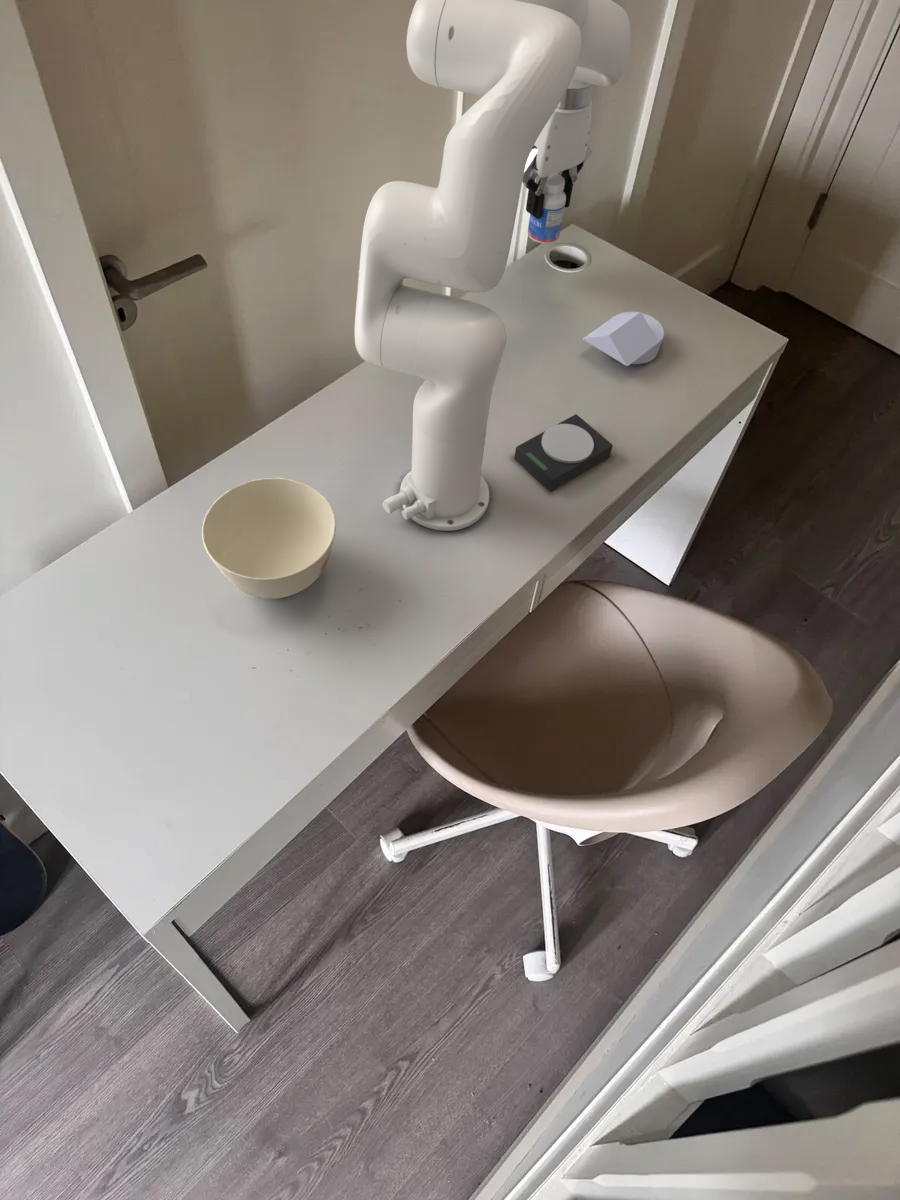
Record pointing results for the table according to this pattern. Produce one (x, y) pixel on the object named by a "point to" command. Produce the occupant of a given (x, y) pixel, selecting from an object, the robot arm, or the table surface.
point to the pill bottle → (549, 212)
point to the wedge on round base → (628, 337)
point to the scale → (563, 452)
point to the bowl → (270, 536)
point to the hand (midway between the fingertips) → (547, 208)
